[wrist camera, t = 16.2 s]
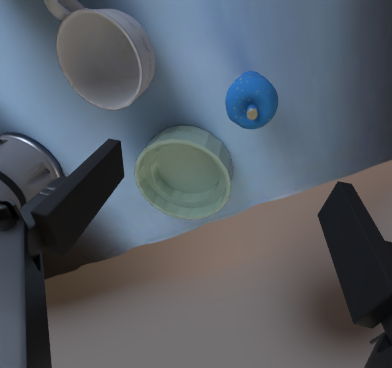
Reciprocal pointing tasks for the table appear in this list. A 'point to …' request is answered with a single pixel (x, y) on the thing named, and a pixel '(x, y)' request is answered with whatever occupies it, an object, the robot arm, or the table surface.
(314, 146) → the table surface
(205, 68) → the table surface
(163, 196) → the bowl
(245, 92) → the ornament
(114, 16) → the teacup
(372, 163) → the table surface
